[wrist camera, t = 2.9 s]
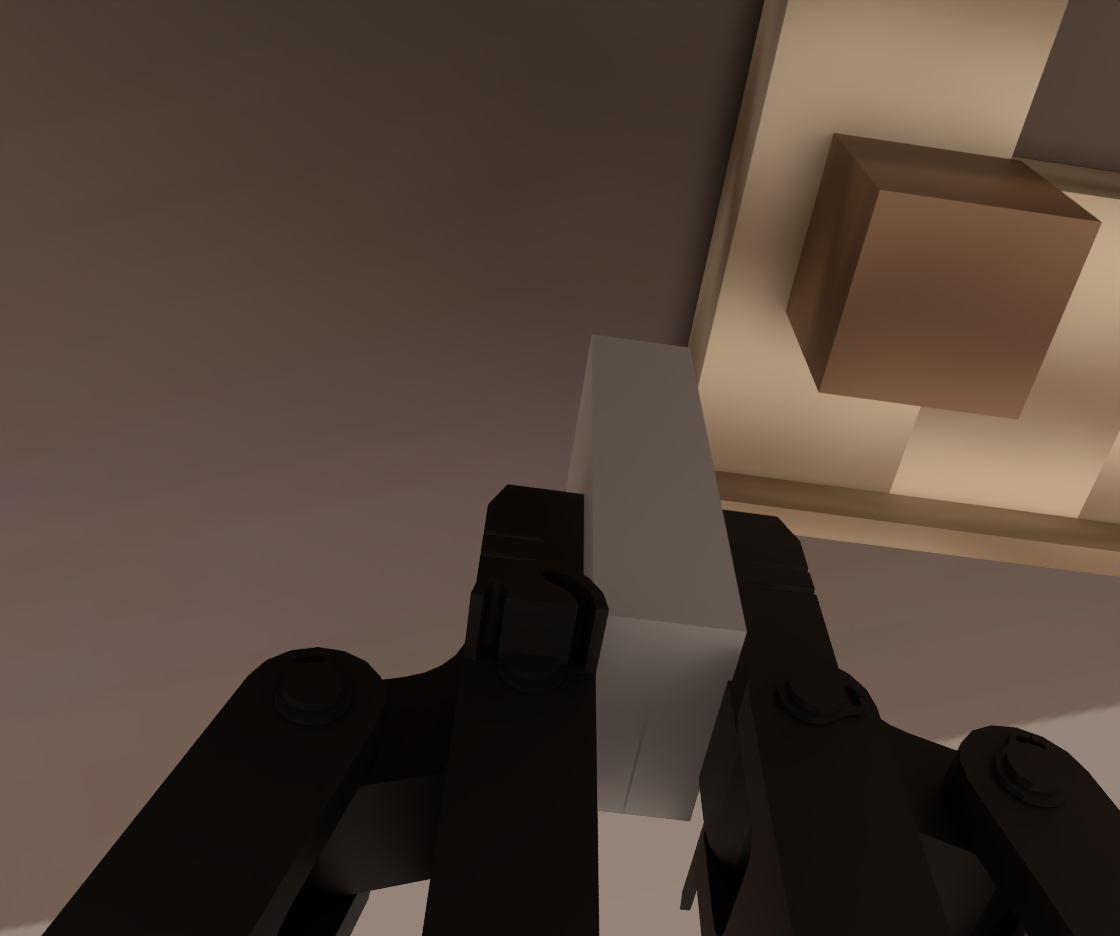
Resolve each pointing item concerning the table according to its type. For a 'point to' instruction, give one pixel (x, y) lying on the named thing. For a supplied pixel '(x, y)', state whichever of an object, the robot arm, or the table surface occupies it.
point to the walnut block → (934, 276)
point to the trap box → (884, 427)
